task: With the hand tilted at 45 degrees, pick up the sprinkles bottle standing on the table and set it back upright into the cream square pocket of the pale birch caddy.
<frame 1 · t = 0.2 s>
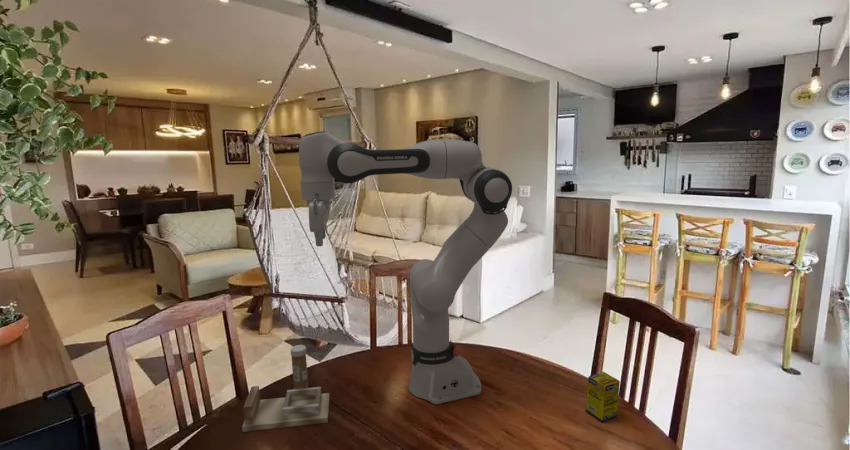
hand: (321, 242, 122), 48 cm above the table, tool pointing down, fingers open, 8 cm apart
sprinkles bottle: (301, 388, 137), on the table
caddy: (288, 413, 124), on the table
supplement box: (601, 414, 122), on the table
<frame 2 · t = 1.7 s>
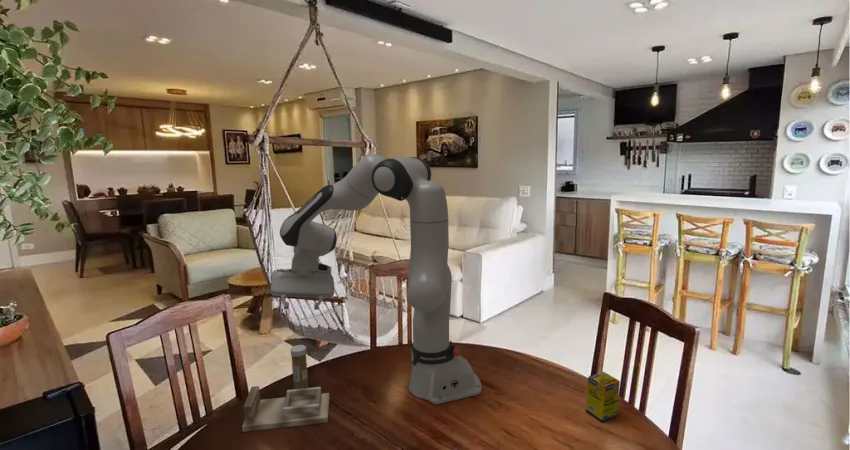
hand: (301, 308, 141), 22 cm above the table, tool tilted 40°, fingers open, 8 cm apart
nothing on the table moved.
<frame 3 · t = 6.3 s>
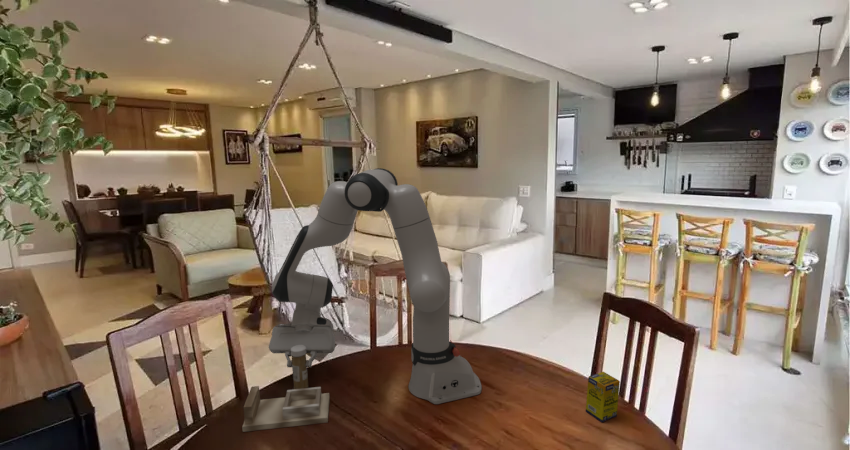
hand: (298, 366, 135), 7 cm above the table, tool tilted 45°, fingers closed on sprinkles bottle, 4 cm apart
sprinkles bottle: (301, 388, 137), on the table, touching gripper
everything else where it was.
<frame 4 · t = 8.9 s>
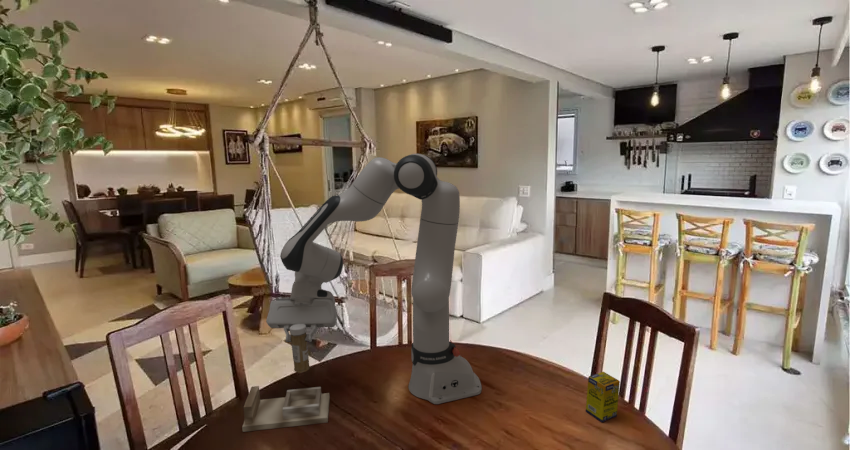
hand: (298, 341, 126), 19 cm above the table, tool tilted 45°, fingers closed on sprinkles bottle, 4 cm apart
sprinkles bottle: (302, 370, 128), point 10 cm above the table, touching gripper
everything else where it was.
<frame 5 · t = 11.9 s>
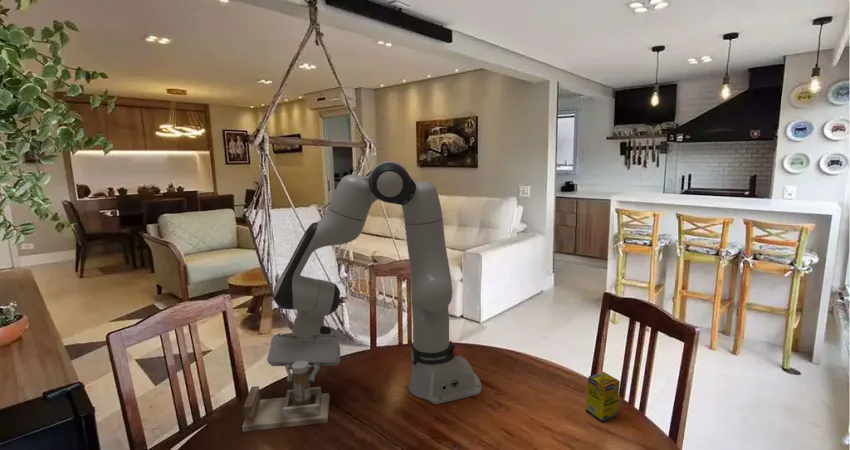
hand: (300, 381, 122), 10 cm above the table, tool tilted 45°, fingers closed on sprinkles bottle, 4 cm apart
sprinkles bottle: (303, 408, 124), point 1 cm above the table, touching caddy, gripper
everything else where it was.
when the fingers open (10 cm above the table, at t = 12.5 s): sprinkles bottle stays where it is, resting on caddy.
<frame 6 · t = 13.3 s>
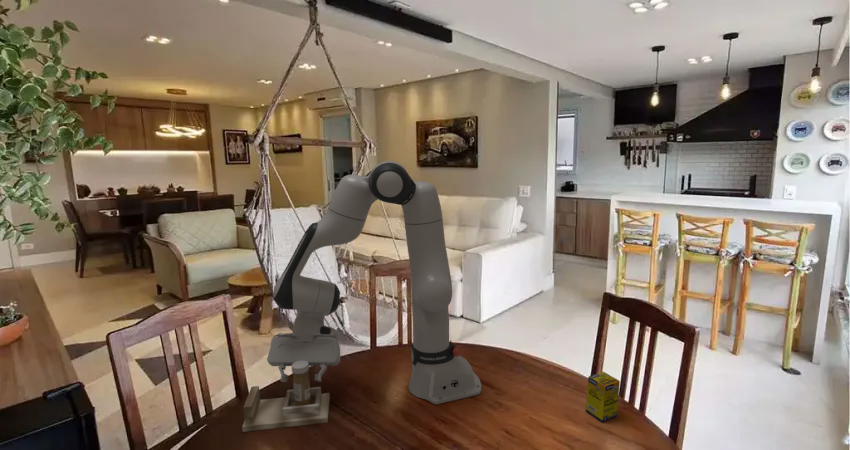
hand: (300, 381, 122), 10 cm above the table, tool tilted 45°, fingers open, 8 cm apart
sprinkles bottle: (303, 408, 124), point 1 cm above the table, touching caddy
everything else where it was.
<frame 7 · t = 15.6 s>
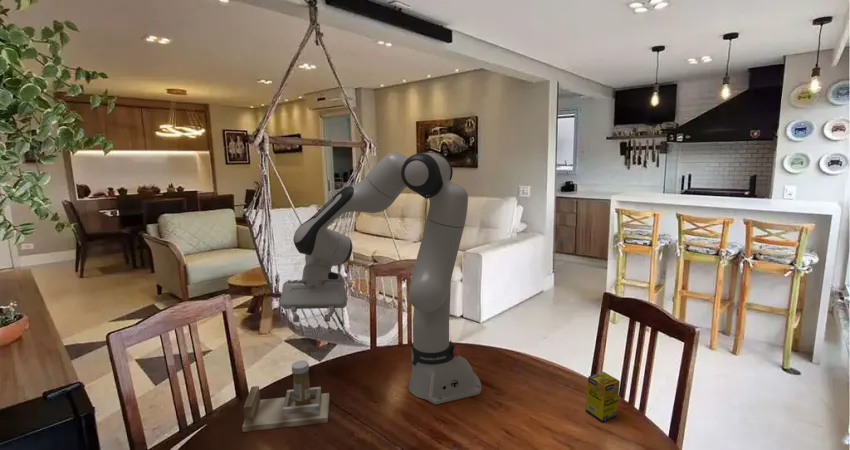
hand: (311, 321, 132), 22 cm above the table, tool tilted 45°, fingers open, 8 cm apart
nothing on the table moved.
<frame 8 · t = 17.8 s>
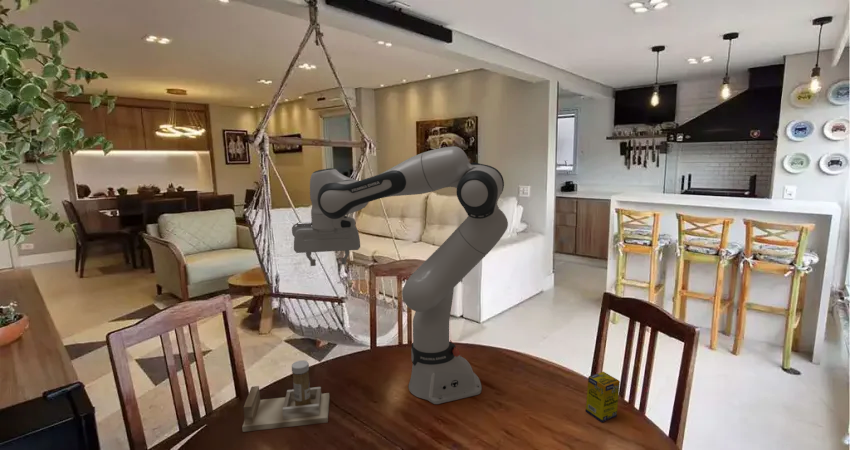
hand: (328, 264, 138), 37 cm above the table, tool pointing down, fingers open, 8 cm apart
nothing on the table moved.
at the end: sprinkles bottle 0.1 cm from the target spot on the caddy, point 1.3 cm above the caddy's base; sprinkles bottle tilted 0°; the gripper is holding nothing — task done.
